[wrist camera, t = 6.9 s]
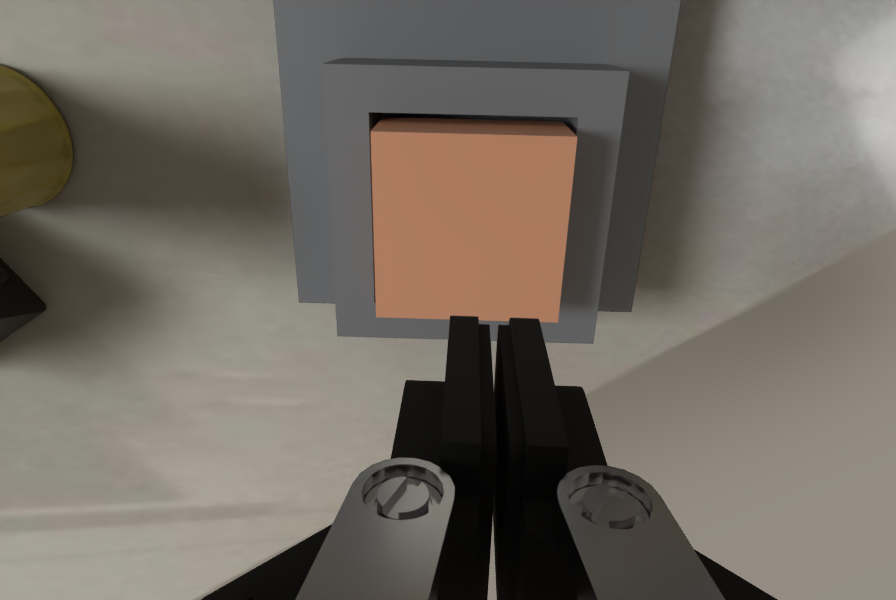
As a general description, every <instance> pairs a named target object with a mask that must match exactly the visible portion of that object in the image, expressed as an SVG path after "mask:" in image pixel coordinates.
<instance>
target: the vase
mask: <svg viewBox="0 0 896 600" xmlns="http://www.w3.org/2000/svg"><path fill="white" fill-rule="evenodd" d="M72 164H73V148H72V142H71V137H70V133H69V131H68V128H67V125H66V123H65V121H64V119H63V117H62V115H61V114H60V112H59V111H58V109H57V108H56V106H55V105H54V104H53V102H52V101H51V100H50V99H49V97H48V96H47V95H46V94H45V93H44V92H43V91H42V90H41V89H40V88H39V87H38V86H37V85H36V84H34V83H33V82H32V81H30V80H29V79H27V78H26V77H24V76H23V75H21V74H19V73H18V72H16V71H14V70H12V69H9V68H7V67H4V66H1V65H0V217H1V216H4V215H8V214H10V213H13V212H16V211H19V210H22V209H25V208H29V207H34V206H38V205H42V204H45V203H46V202H48V201H50V200H51V199H52V198H53V197H55V196H56V195H57V194H58V193H59V192H60V191H61V189H62V188H63V187H64V186H65V184H66V182H67V181H68V179H69V176H70V173H71V169H72Z"/></svg>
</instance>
